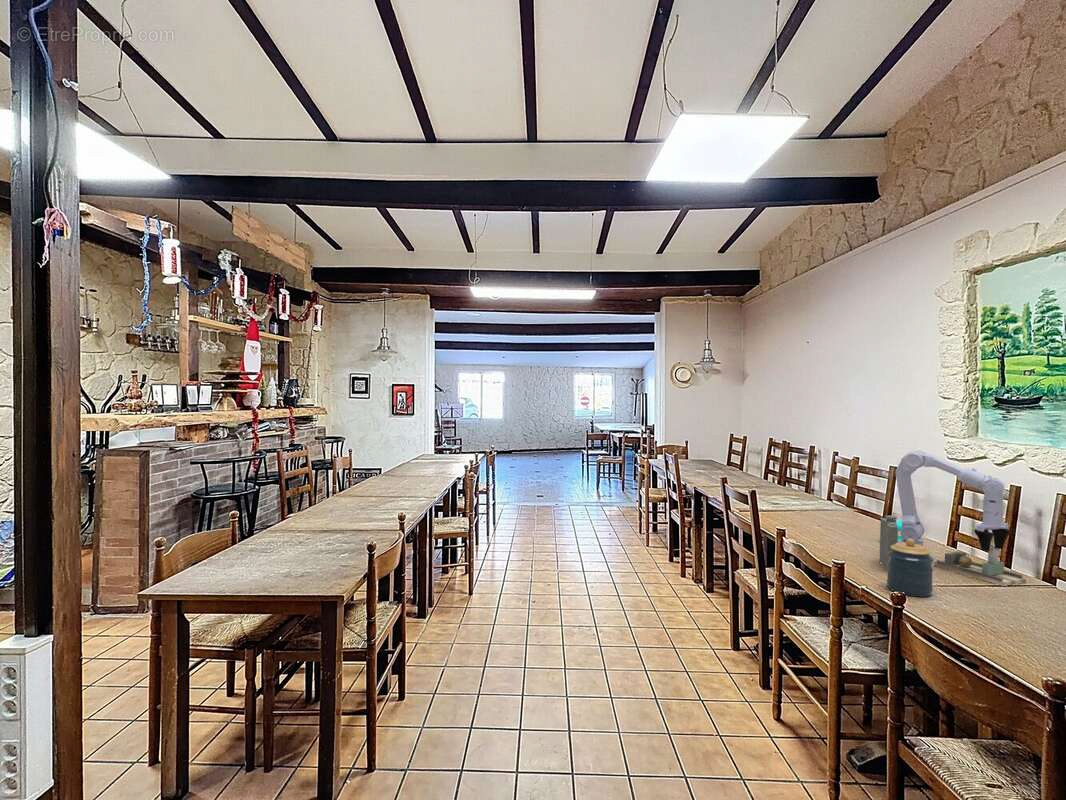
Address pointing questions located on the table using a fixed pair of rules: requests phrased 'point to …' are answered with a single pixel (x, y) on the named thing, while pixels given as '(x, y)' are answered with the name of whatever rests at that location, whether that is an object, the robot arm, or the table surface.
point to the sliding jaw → (993, 563)
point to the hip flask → (887, 537)
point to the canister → (910, 569)
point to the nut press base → (977, 570)
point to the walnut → (965, 561)
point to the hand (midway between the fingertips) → (992, 549)
